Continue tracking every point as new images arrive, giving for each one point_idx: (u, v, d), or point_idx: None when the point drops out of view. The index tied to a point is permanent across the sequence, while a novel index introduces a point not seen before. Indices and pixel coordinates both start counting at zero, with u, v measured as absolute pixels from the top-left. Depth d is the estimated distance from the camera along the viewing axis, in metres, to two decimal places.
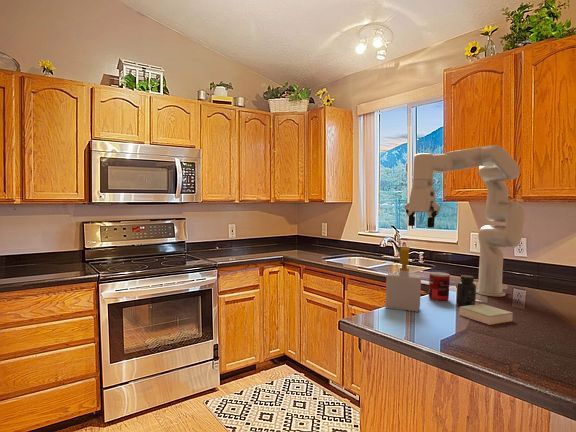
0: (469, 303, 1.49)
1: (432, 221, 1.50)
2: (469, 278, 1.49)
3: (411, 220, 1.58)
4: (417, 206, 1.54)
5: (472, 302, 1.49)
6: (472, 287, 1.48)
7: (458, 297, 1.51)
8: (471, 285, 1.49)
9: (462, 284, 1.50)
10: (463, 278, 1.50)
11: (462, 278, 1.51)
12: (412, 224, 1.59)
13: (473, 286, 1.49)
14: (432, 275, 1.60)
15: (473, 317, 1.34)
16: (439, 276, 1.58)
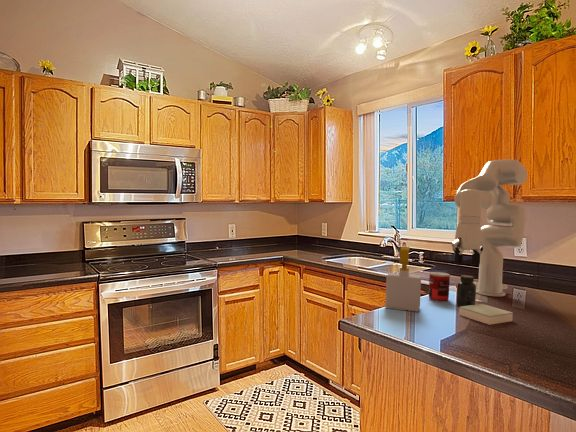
0: (469, 303, 1.49)
1: None
2: (469, 278, 1.49)
3: None
4: (473, 243, 1.49)
5: (472, 302, 1.49)
6: (472, 287, 1.48)
7: (458, 297, 1.51)
8: (471, 285, 1.49)
9: (462, 284, 1.50)
10: (463, 278, 1.50)
11: (462, 278, 1.51)
12: None
13: (473, 286, 1.49)
14: (432, 275, 1.60)
15: (473, 317, 1.34)
16: (439, 276, 1.58)
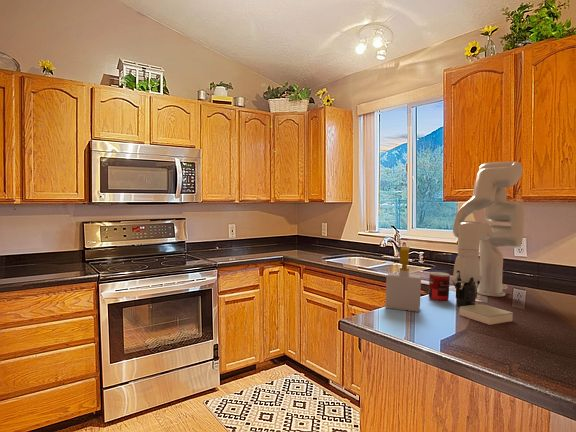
0: (469, 303, 1.49)
1: None
2: None
3: None
4: (472, 276, 1.49)
5: (472, 302, 1.49)
6: (472, 287, 1.48)
7: None
8: (471, 285, 1.49)
9: None
10: None
11: None
12: None
13: (473, 286, 1.49)
14: (432, 275, 1.60)
15: (473, 317, 1.34)
16: (439, 276, 1.58)
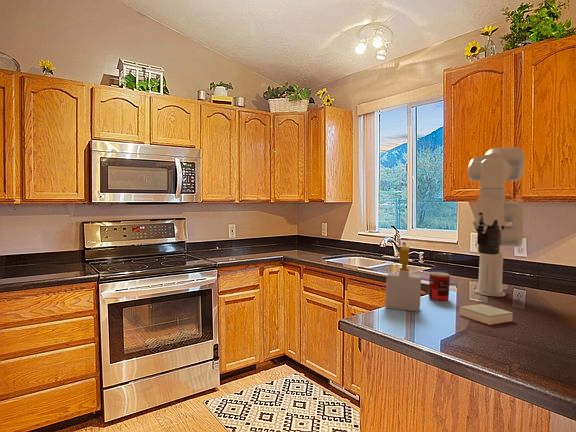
0: (493, 249, 1.32)
1: None
2: None
3: None
4: (496, 219, 1.33)
5: (496, 248, 1.32)
6: (496, 230, 1.32)
7: None
8: (495, 228, 1.32)
9: None
10: None
11: None
12: None
13: (497, 229, 1.32)
14: (432, 275, 1.60)
15: (473, 317, 1.34)
16: (439, 276, 1.58)
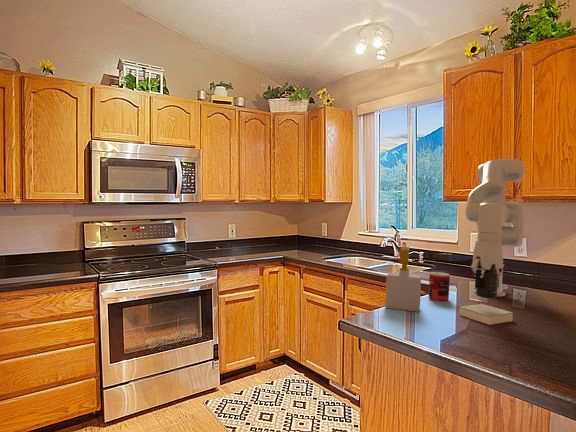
0: (491, 293, 1.33)
1: None
2: None
3: None
4: (494, 263, 1.34)
5: (494, 292, 1.33)
6: (494, 275, 1.32)
7: None
8: (493, 273, 1.33)
9: None
10: None
11: None
12: None
13: (495, 274, 1.33)
14: (432, 275, 1.60)
15: (473, 317, 1.34)
16: (439, 276, 1.58)
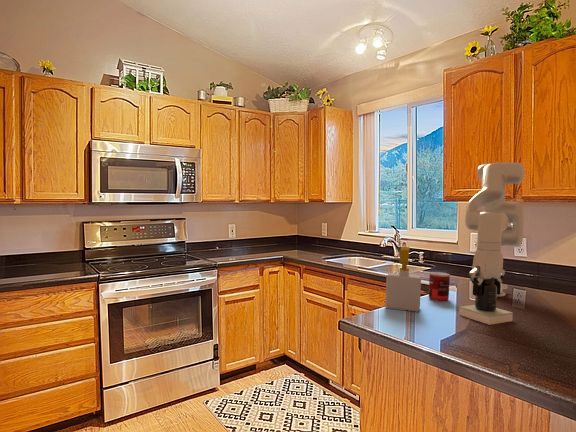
0: (490, 306, 1.33)
1: None
2: None
3: None
4: (493, 272, 1.34)
5: (493, 305, 1.33)
6: (493, 288, 1.33)
7: (477, 299, 1.36)
8: (492, 286, 1.33)
9: (482, 285, 1.34)
10: None
11: None
12: None
13: (494, 287, 1.33)
14: (432, 275, 1.60)
15: (473, 317, 1.34)
16: (439, 276, 1.58)
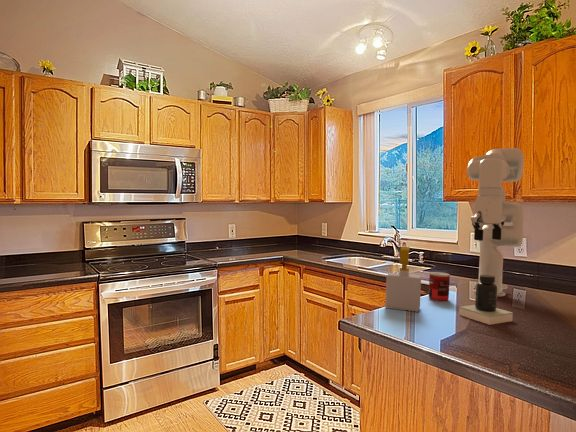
0: (490, 306, 1.33)
1: None
2: (490, 278, 1.34)
3: None
4: (494, 217, 1.38)
5: (493, 305, 1.33)
6: (493, 288, 1.33)
7: (477, 299, 1.36)
8: (492, 286, 1.33)
9: (482, 285, 1.34)
10: (483, 278, 1.35)
11: (482, 278, 1.35)
12: None
13: (494, 287, 1.33)
14: (432, 275, 1.60)
15: (473, 317, 1.34)
16: (439, 276, 1.58)
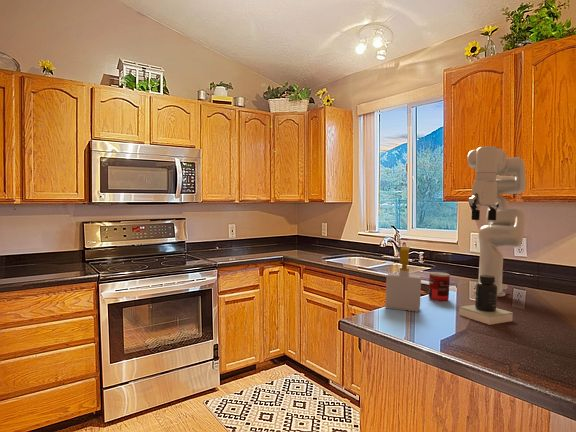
0: (490, 306, 1.33)
1: None
2: (490, 278, 1.34)
3: None
4: (490, 199, 1.52)
5: (493, 305, 1.33)
6: (493, 288, 1.33)
7: (477, 299, 1.36)
8: (492, 286, 1.33)
9: (482, 285, 1.34)
10: (483, 278, 1.35)
11: (482, 278, 1.35)
12: None
13: (494, 287, 1.33)
14: (432, 275, 1.60)
15: (473, 317, 1.34)
16: (439, 276, 1.58)
